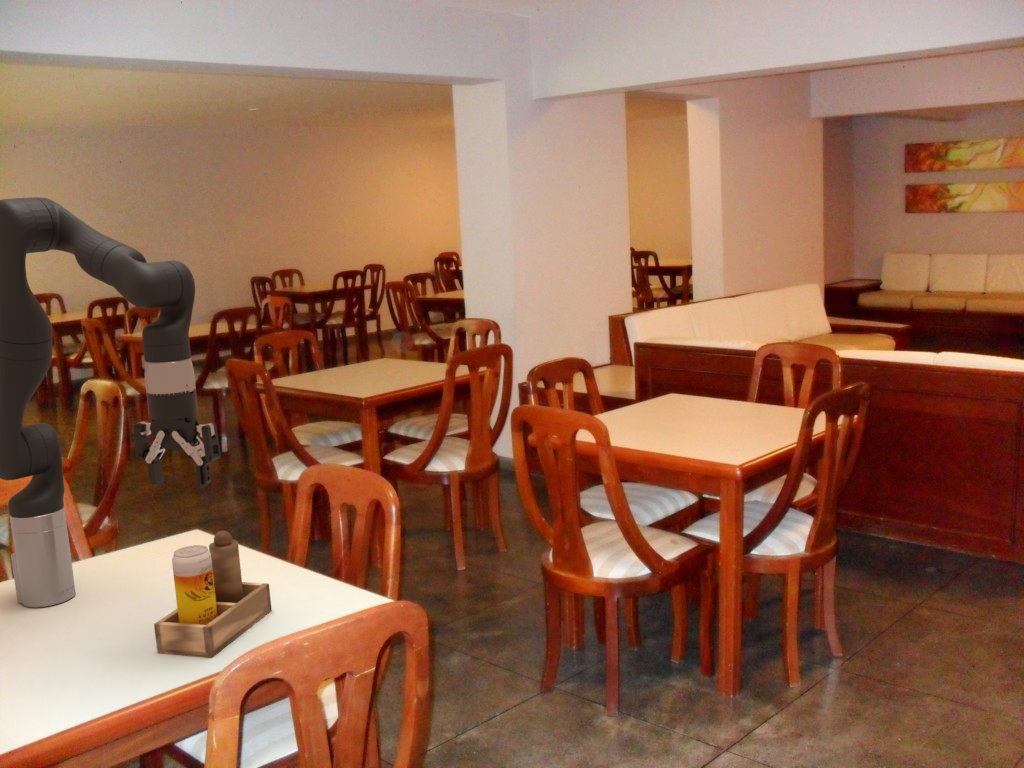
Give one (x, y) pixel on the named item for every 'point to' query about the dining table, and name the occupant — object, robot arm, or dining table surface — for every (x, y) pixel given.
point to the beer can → (194, 585)
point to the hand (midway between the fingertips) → (181, 485)
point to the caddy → (234, 608)
